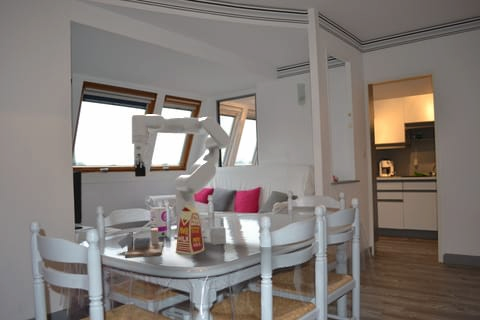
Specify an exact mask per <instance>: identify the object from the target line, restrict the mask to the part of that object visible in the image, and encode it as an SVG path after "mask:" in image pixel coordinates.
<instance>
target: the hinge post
mask: <svg viewBox="0 0 480 320" xmlns="http://www.w3.org/2000/svg"><path fill="white" fill-rule="evenodd" d="M133 234H134V231H128V233H127V234H126V236H127V245H126V247H127V248H126V249H127V250H132V248H133V244H134V237H132V235H133Z"/></svg>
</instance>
